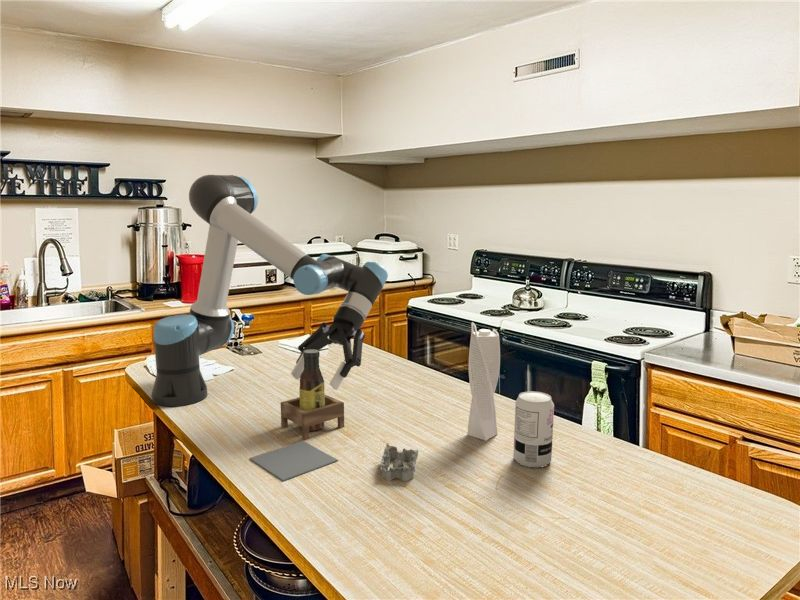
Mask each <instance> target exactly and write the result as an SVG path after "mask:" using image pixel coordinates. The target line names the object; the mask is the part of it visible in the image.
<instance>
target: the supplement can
mask: <svg viewBox="0 0 800 600" xmlns="http://www.w3.org/2000/svg"><path fill="white" fill-rule="evenodd" d="M514 404H515V405H514V406H515V408H514V430H513V459H514V460H515V461H516V462H517V463H518V464H519V463H520V464H519V465H521V466H522V465H524V466H523V467H526V466H528V467H527V468H530V467H541V468H543V467H542V466H545V465H546V466H548V465H549V464H550V463H551V462H552V454H553V453H552V452H553V434H554V414H555V403H554V402H553V400H552V396H551V395H550V394H548V393H545V392H541V391H533V390H532V391H531V390H529V391H524V392H523V391H522V392H520V393H519V394H518V397H517V399H516V400H515V403H514ZM547 464H548V465H547ZM546 466H545V467H546Z"/></svg>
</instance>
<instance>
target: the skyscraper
mask: <svg viewBox="0 0 800 600" xmlns="http://www.w3.org/2000/svg"><path fill="white" fill-rule="evenodd" d="M470 326H471V330H470V331H471V333H470V341H469V350H468V352H469V353H468V380H469V387H470V393H471V394H470V395H471V401H470V409H469V417H468V425H467V432H466V435H467V436H469V437H473V438H476V437H477V439H479V438H480V440H482V439H483V441H485V442H487V441H488V440H489V438H490V439H491V438H493V437H494V436H498V425H497V413H496V405H495V403H496V402H495V398H494V395H495V393H496V388H497V385H498V381H499V376H500V370H501V369H500V368H501V343H500V335H499V332H498V331H497V330H496V329H495V328H493V329H492V330H491V329H486V328H481V329H478V330H477V325H476V324H475V323H474V322H473V321H472V322H471V323H470Z"/></svg>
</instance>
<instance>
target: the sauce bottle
mask: <svg viewBox="0 0 800 600" xmlns="http://www.w3.org/2000/svg"><path fill="white" fill-rule="evenodd" d="M303 357H304V370H303V372H302V374H301V376H300V378H299V390H298V391H299V397H300V409H302V410H304V411H310V410H313V409H316V408H320V407H323V406H325V395H326V394H325V379H324V377H323V374H322V372H321V369H320V357H321V355H320V350H316V349H310V350H305V351H303ZM324 426H325V422H322V423H319V424H316V425H313V426H310V427H309V432H310V431H311V432H312V431H317V430H321V429H323V428H324ZM300 428H301V429H302V426H300Z"/></svg>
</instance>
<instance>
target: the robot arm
mask: <svg viewBox="0 0 800 600" xmlns="http://www.w3.org/2000/svg"><path fill="white" fill-rule="evenodd" d="M254 186H255V185H254V184H253V183H252V182H251V181H250V180H249V179H247V178H245V177H244V176H238V175H233V174H223V175H221V174H217V175H216V174H206V175H202V176H200V177H198V178H196V180H194V181H193V183H192V184H191V185H190V188H189V192H188V201H189V205H190V207H191V208H192V210H193V211H194V213H195V214H197V216H198V217H200V219H202V220H203V221H205V222H206V223H207V224H208V225H209V227H208V232H207V239H206V244H205V245H206V246H205V250H204V251H205V252H204V257H203V261H202V262H203V263H202V270H201V273H200V274H201V275H200V281H199V285H198V292H197V299H196V301H195V302H193V303H192V304H191V305H190V309H189V314H187V313H186V314H185V313H182V314H174V315H170V316H165V317H163V318H161V319H159V320H157V322H155V324H154V326H153V343H154V345H153V346H154V354H155V355H154V357H155V366H156V367H155V368H156V376H155V380H154V384H153V386H152V390H151V401H152V403H153V404H155V405H157V406H161V407H181V406H182V407H183V406H186V405H191V404H196V403H198V402H201V401H203V400H205V399H206V398H207V397H208V386H207V383H206V382H205V379H204V376H203V374H202V371H201V369H200V368H201V367H200V356H201V355H205V354H206V353H209V352H212V351H215V350H218V349H220V348H222V347H224V346H225V345H226V344H228V343H229V342H230V340H231V339H232V338H233V335H234V333H235V324H234V320H232V319H233V318H232V316H231V310H230V308H229V307H228V306H227V303H228V299H229V298H228V297H229V292H230V287H231V286H230V285H231V283H232V282H231V280H232V275H233V270H234V265H235V264H234V263H235V260H236V259H235V258H236V253H237V247H238V243H239V242H241V243H242V244H243V245H244V246H246V247H247V248H249V249H250V250H251V251H252V252H254V253H255V254H256V255H258V256H260V257H261V258H263V260H265V261H267V262H268V263H269V264H270V265H272V266H273V267H275V268H276V269H278V270H279V271H280V272H281V273H283V274H284V275H285V276H287V277H289V278H290V279H291V280H293V284H294V286H295V288H296V290H297V291H298V292H299V293H300V294H301V295H305V296H312V295H318V294H321V293H322V292H324V291H327V290H330V289H333V288H339V289H341V290H344V291H346V292H347V294H346V296H345V297H344V299H343V301H342V302H341V304H340V307H338V309H337V311H336V313H334V316H333V322H332V324H331V325H329V324H327V323H326V322H322V323H321V324H320V326H319V327H318V328H317V329H316V330H315V331H314V332H313V333H312V334H310V335H309V336H308V337H307V338H306V339H305V340H304V341H303V342H302V343H301V344H299V345H298V347H297V349H298V351H300V355H299V356H298V358H297V360H296V362H295V366H294V367H293V369H292V371H291V372H290V375H291V376H292V377H294V379H295V380H297V381H298V380H299V381H300V376H301V374H302V372H303V370H304V357H303V351H305V350H310V349H316V350H319V351H320V350H322V349H323V348H325V347H327V346H328V345H332V344H333V345H339V346H342V350H343V356H344V357H343V358H344V359H343V361H341V362H340V364H339V366H338V368H337V370H336V371H335V373H334V375H333V377H332V378H331V380H330V382H329V385H330V386H331V387H332V389H333V390H336V391H338V389H339V387H340V386H341V384H342V382H343V381H344V378H347V377H348V375H349V373H350V372H351V369H352V368H354V367H361V364H362V354H363V343H364V339H365V337H366V334H365V333H364V332H363V330H362V329H361V328H362V326H363V324H364V322H365V319H366V318H367V317H368V315H369V313H370V311H371V309H372V308H373V306H374V305H375V302H376V300H377V298H378V297H379V295H380V294H381V292H382V291H383V289H384V286H385V284H386V282H387V280H388V276H389V274H388V270H387V269H386V268H385V267H384V266H383V265H382V264H380V263H379V262H377V261H370V260H369V261H366V262H365V263H364V264H363V265H362V266H360V265H357V264H354V263H351V262H348V261H346V260H343V259H342V258H341V259H340V258H339V257H336V256H335V255H330V254H326V253H323V254H321V255H319V257H318V258H317V259H314V258H313V257H311V256H310V255H308V253H306V252H304V251H303V250H302V249H300V248H299V247H298V246H296V244H294V243H292V242H291V241H289V240H288V239H286V238H285V237H284V236H283V235H281V234H279V233H278V232H276V231H275V230H273V228H271V227H270V226H268V225H267V224H266V223H264V222H262V221H261V220H260V219H259V218H257V217H256V216H254V215H253V214H252V213H253V212H254V211H256V208H257V206H258V202H259V198H258V197H259V196H258V192H257V190H256V188H255V187H254ZM352 339H353V343H352ZM352 345H353V347H352Z"/></svg>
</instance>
